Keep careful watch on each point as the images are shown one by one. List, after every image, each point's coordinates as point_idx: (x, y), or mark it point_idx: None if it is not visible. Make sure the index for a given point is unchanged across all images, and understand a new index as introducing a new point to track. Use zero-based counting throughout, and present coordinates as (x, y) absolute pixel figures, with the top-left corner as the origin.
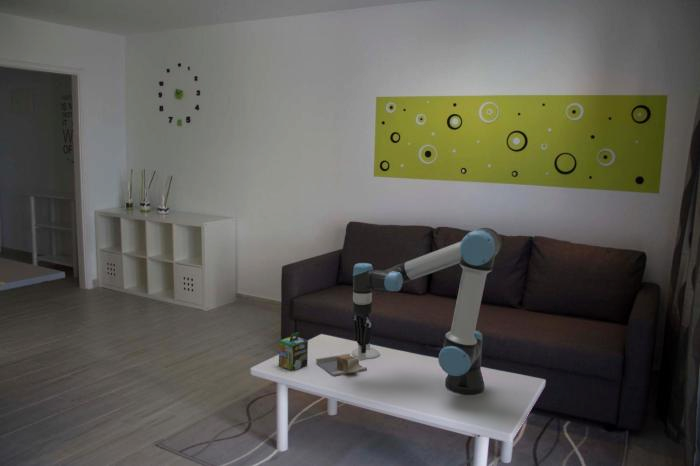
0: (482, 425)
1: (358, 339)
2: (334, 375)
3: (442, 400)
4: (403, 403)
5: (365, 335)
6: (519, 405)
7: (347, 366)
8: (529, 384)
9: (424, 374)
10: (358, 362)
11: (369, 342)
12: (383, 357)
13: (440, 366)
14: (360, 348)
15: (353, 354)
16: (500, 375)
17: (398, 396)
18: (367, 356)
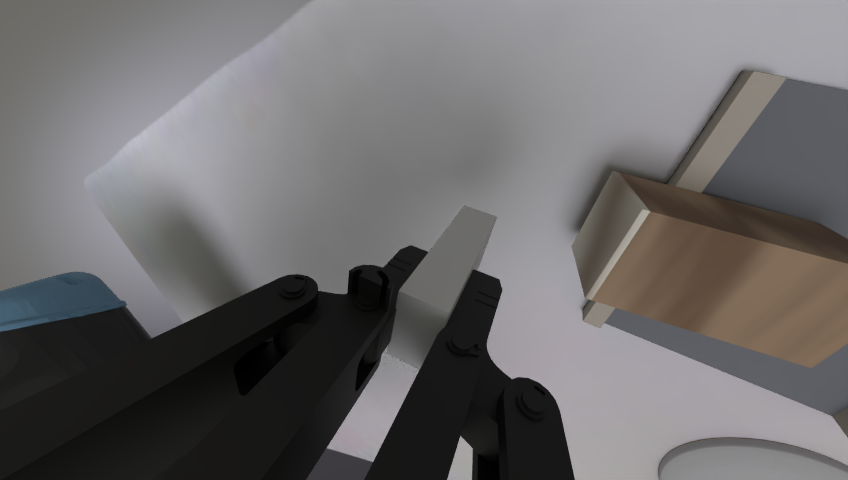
0: (105, 176)
1: (421, 376)
2: (734, 86)
3: (224, 236)
4: (228, 122)
5: (70, 379)
6: (180, 311)
7: (640, 190)
8: None
9: (387, 373)
10: (581, 276)
11: (271, 344)
12: (627, 471)
13: (64, 283)
14: (417, 270)
15: (844, 473)
16: None
17: (280, 160)
18: (705, 457)
